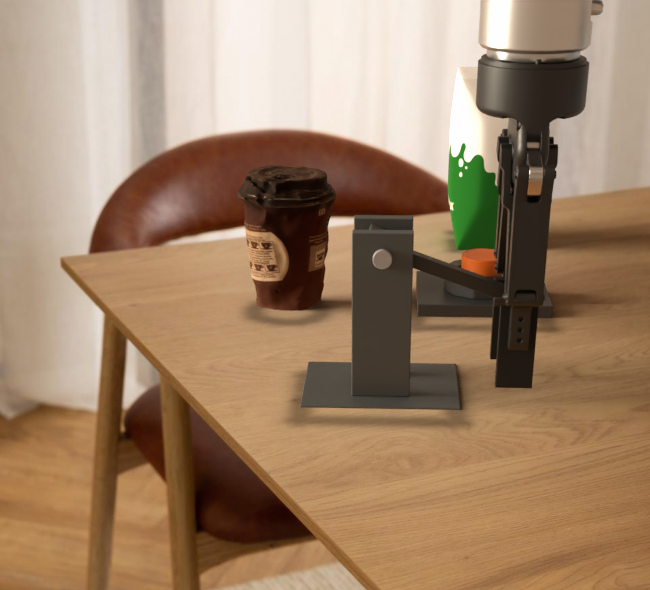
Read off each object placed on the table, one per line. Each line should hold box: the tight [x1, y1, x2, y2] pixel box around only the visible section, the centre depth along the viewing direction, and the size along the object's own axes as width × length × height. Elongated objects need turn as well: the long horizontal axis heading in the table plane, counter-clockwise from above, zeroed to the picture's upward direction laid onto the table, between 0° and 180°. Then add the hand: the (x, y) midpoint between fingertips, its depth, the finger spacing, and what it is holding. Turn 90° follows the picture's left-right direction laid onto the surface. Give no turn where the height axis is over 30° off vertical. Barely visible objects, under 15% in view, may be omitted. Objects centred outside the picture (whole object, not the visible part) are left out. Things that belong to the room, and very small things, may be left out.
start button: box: [460, 248, 502, 277], centre depth 109 cm, size 4×4×2 cm
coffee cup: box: [237, 164, 337, 312], centre depth 108 cm, size 9×8×13 cm
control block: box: [415, 259, 554, 319], centre depth 110 cm, size 12×10×4 cm
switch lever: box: [369, 223, 504, 297], centre depth 88 cm, size 13×5×2 cm, turn 87°
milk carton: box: [447, 66, 509, 251], centre depth 126 cm, size 9×9×20 cm
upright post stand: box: [299, 214, 461, 411], centre depth 90 cm, size 12×9×14 cm
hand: (510, 371), depth 91 cm, fingers closed on switch lever, 5 cm apart
